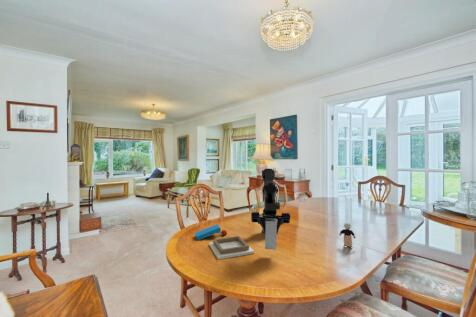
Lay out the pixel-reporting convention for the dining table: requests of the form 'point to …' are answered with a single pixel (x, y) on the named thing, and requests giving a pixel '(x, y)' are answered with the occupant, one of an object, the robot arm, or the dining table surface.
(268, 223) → the brushed metal pillar
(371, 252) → the dining table surface
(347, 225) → the grandmother figurine
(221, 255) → the stand
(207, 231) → the lever
